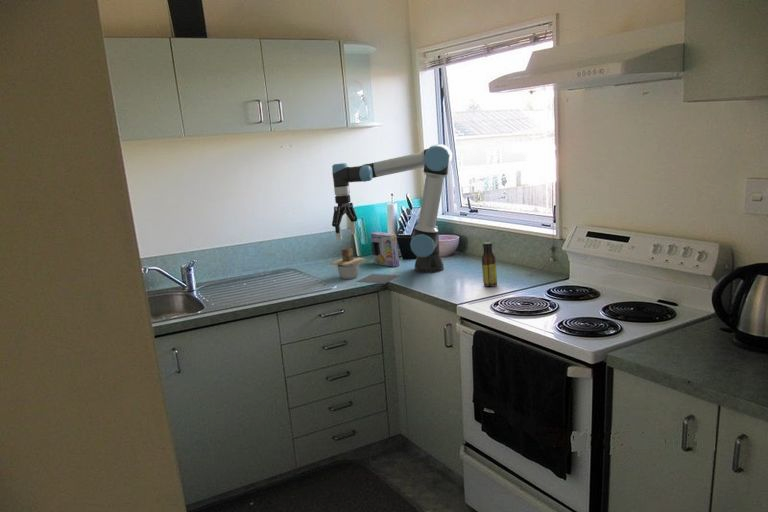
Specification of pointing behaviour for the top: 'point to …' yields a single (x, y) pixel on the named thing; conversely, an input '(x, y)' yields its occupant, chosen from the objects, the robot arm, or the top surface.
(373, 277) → the mat
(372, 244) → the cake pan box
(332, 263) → the lid
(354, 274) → the teacup
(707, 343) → the top surface
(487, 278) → the sauce bottle
